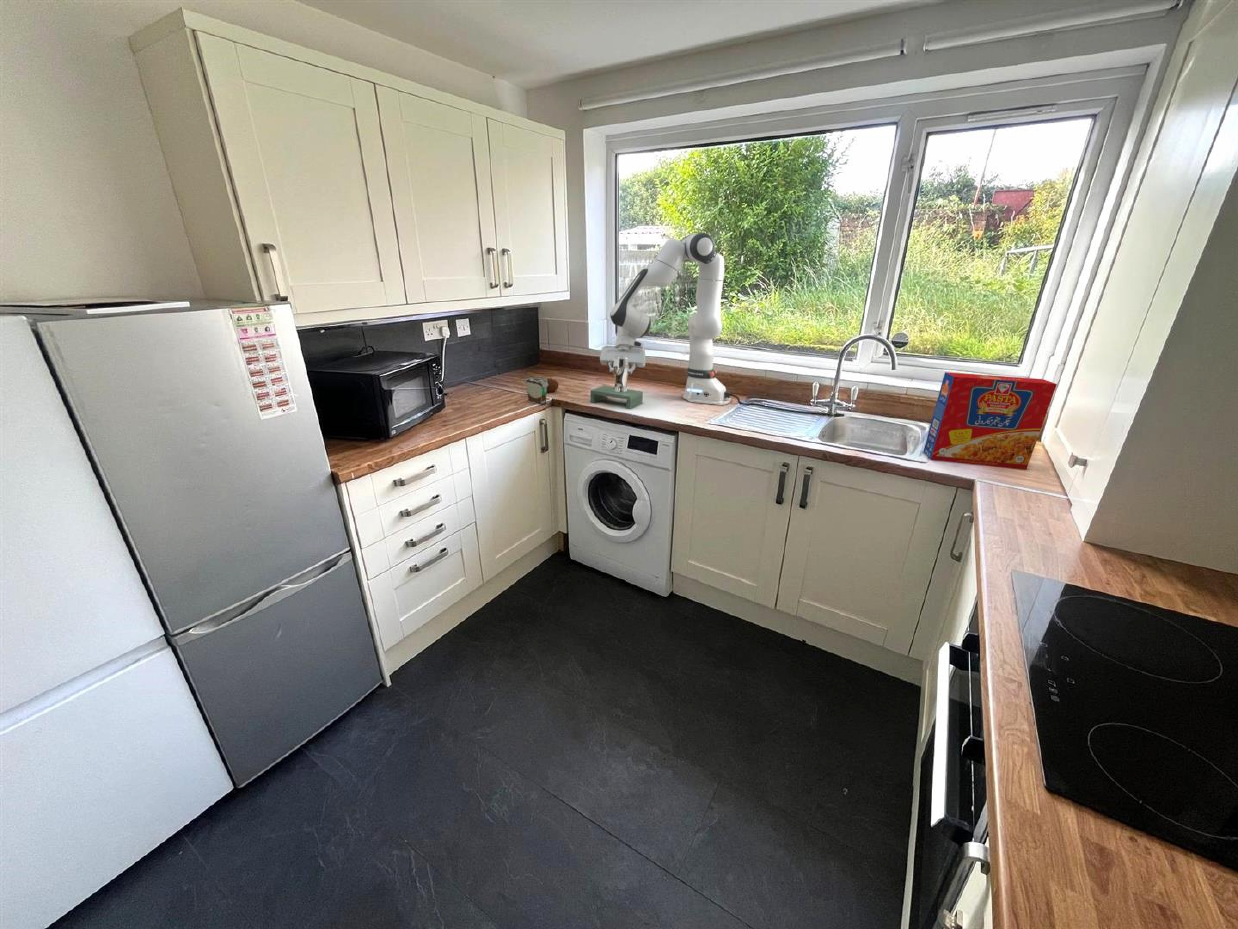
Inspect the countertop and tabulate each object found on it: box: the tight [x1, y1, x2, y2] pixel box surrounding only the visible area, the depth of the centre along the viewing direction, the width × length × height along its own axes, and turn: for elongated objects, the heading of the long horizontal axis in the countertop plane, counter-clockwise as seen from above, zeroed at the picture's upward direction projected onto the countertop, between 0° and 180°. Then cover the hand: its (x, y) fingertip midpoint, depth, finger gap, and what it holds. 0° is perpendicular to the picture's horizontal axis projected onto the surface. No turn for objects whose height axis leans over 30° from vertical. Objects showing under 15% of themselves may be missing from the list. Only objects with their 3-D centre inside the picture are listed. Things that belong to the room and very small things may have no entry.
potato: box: [545, 378, 559, 393], centre depth 238 cm, size 6×12×6 cm, turn 151°
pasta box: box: [922, 371, 1058, 471], centre depth 162 cm, size 28×8×28 cm, turn 76°
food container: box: [525, 377, 548, 406], centre depth 218 cm, size 12×6×10 cm, turn 46°
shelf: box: [589, 385, 644, 410], centre depth 222 cm, size 20×12×6 cm, turn 61°
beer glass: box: [612, 356, 630, 393], centre depth 217 cm, size 7×7×15 cm
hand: (620, 372), depth 217 cm, fingers closed on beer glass, 7 cm apart
